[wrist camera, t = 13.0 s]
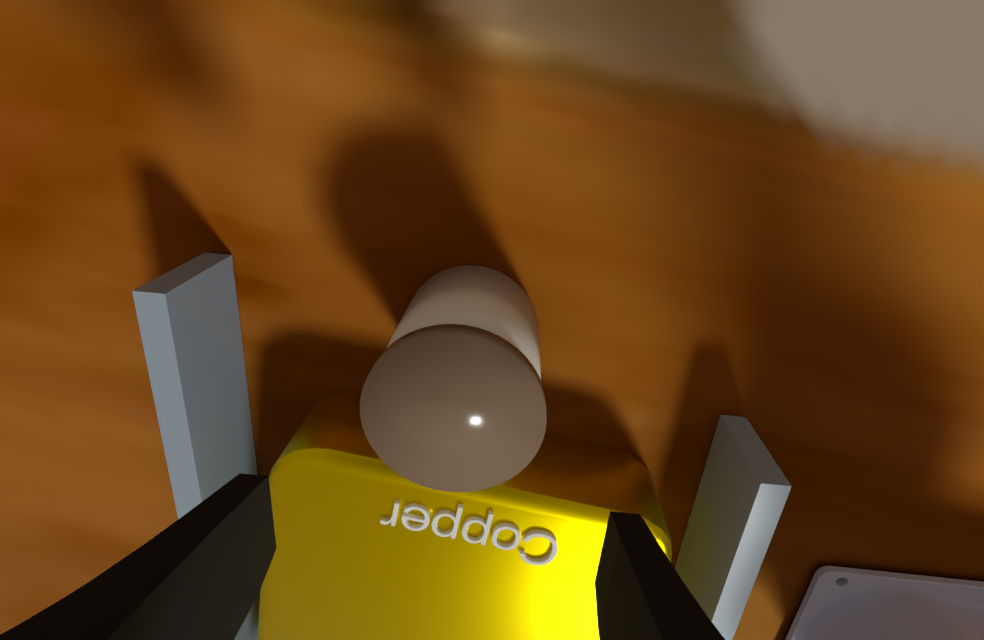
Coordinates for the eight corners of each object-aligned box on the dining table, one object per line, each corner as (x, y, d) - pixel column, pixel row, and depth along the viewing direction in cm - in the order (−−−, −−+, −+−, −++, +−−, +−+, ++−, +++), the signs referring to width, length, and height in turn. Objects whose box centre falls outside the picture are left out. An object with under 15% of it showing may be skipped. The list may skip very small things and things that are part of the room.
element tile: (664, 453, 23) (697, 541, 18) (567, 675, 29) (574, 782, 24) (312, 375, 22) (260, 447, 18) (289, 619, 28) (245, 717, 24)
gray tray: (781, 307, 19) (841, 359, 16) (650, 712, 29) (668, 804, 25) (204, 252, 20) (132, 290, 16) (263, 670, 29) (225, 754, 26)
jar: (550, 272, 19) (561, 347, 14) (530, 395, 21) (532, 502, 16) (407, 254, 19) (360, 321, 14) (400, 378, 22) (358, 480, 16)
